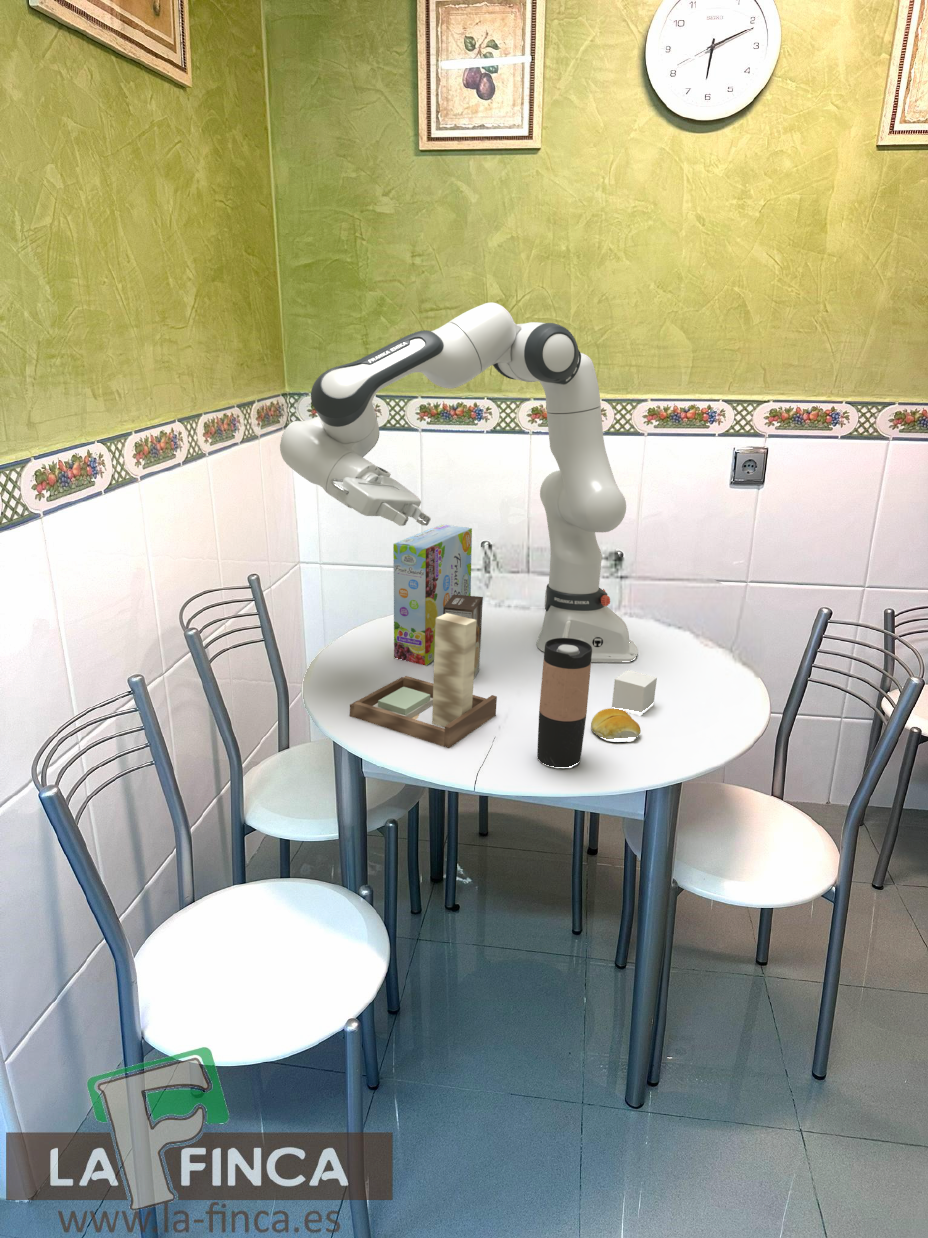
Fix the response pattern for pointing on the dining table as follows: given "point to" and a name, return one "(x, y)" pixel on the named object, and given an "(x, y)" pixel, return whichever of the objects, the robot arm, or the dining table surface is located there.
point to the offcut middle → (414, 712)
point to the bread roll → (614, 724)
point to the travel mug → (563, 701)
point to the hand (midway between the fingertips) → (416, 522)
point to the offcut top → (404, 700)
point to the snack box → (427, 586)
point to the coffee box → (468, 609)
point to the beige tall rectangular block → (453, 667)
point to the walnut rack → (431, 733)
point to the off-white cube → (634, 691)
